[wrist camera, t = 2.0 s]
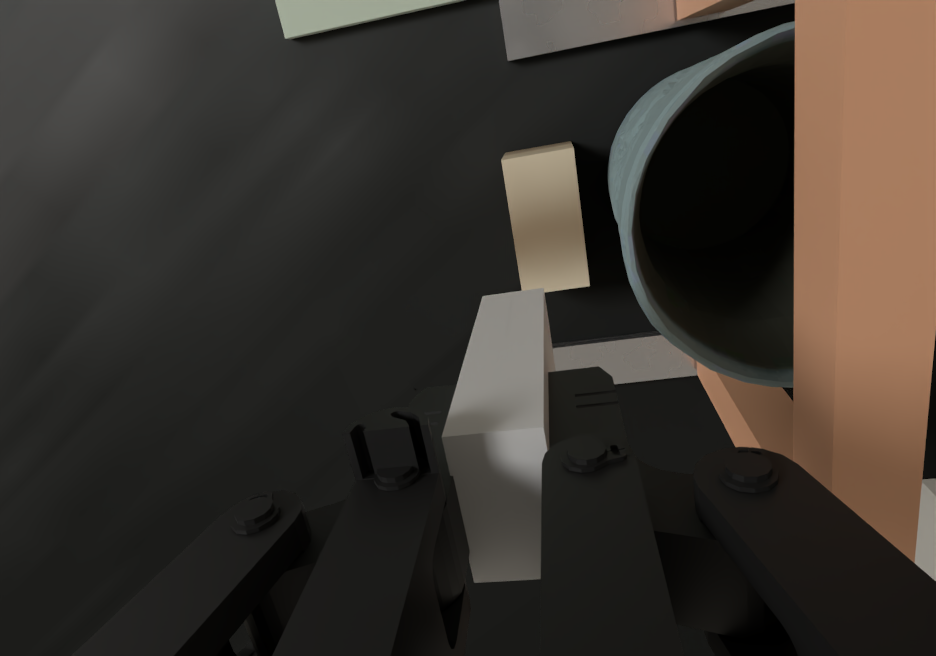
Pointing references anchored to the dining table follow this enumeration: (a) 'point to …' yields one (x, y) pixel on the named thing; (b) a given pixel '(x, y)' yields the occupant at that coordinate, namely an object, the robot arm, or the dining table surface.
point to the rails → (580, 24)
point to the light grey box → (927, 529)
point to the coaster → (342, 13)
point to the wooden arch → (855, 261)
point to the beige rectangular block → (546, 217)
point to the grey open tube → (715, 208)
